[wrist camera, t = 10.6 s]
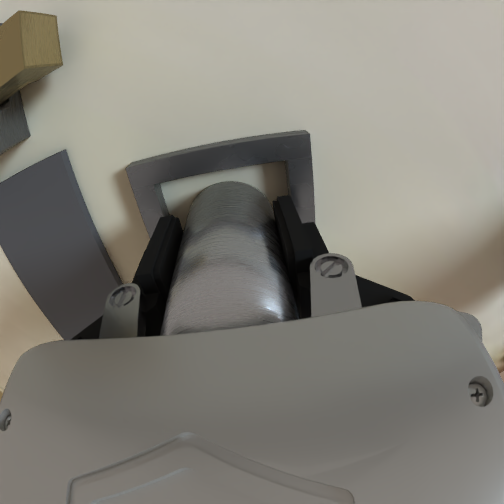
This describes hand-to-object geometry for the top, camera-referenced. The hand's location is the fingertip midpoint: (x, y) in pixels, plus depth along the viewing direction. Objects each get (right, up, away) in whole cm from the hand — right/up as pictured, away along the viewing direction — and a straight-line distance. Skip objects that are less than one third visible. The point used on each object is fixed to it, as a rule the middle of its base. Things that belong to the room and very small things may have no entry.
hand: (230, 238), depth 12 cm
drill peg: (0, +1, +1) cm, 1 cm away
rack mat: (-11, -2, +3) cm, 11 cm away
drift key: (-12, +7, -5) cm, 15 cm away
